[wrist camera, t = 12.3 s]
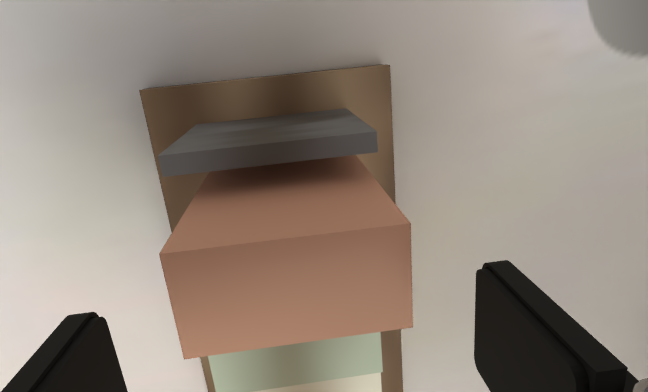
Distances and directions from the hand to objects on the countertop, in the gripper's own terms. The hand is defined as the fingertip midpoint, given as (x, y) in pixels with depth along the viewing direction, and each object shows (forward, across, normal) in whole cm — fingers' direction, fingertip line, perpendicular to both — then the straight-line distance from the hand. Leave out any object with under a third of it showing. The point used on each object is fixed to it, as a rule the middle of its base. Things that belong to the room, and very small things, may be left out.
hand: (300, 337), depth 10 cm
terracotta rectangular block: (+14, 0, 0) cm, 14 cm away
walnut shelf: (+15, +1, +6) cm, 17 cm away
